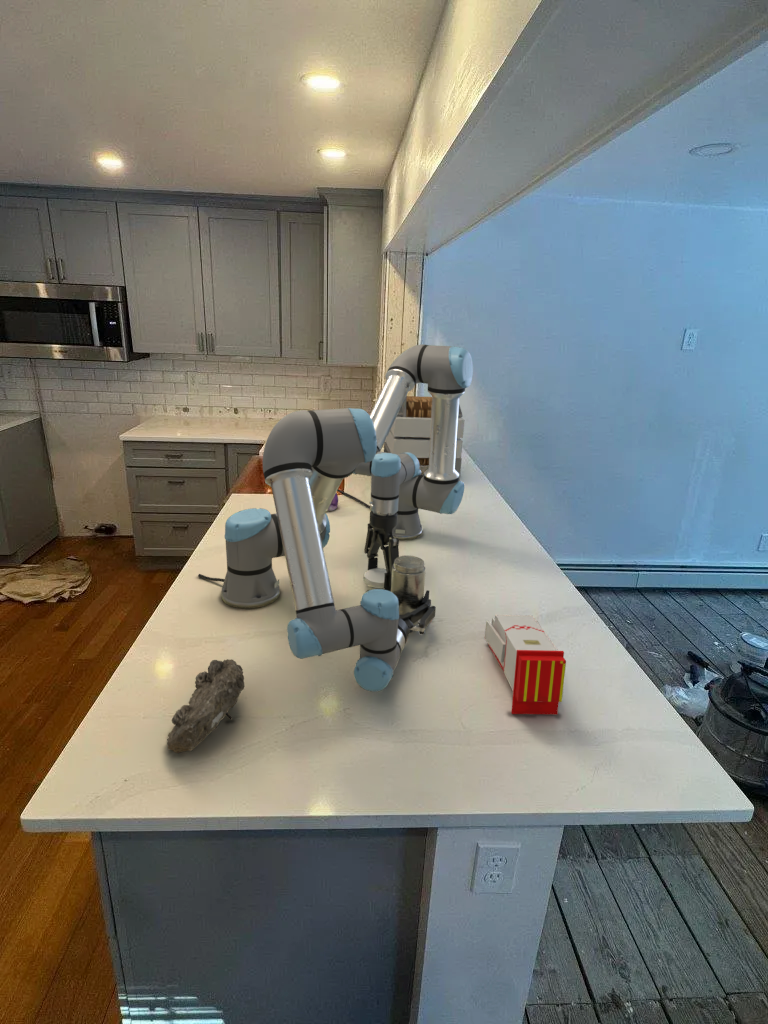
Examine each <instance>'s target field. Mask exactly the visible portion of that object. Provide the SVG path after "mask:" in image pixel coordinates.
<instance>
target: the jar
mask: <svg viewBox="0 0 768 1024" xmlns="http://www.w3.org/2000/svg"><path fill="white" fill-rule="evenodd" d="M425 583H426V563H425V561H424V560H423V559H422V558H421V557H419V556H414V555H399V557H397V558H396V559H395V560H394V564H393V565H392V580H391V592H392V593H393V594H394V595H395V596H396V597H397V598H398V602H399V615H404V614H406V613H408V612H410V613H411V612H412V611H414V610H415V609H417V608H419V607H420V606H422V600H423V598H424V596H425ZM418 621H420V620H418ZM418 621H417V622H415V623H413V625H416V624H417V623H418Z"/></svg>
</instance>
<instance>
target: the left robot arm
mask: <svg viewBox="0 0 768 1024" xmlns="http://www.w3.org/2000/svg"><path fill="white" fill-rule="evenodd" d="M376 449H377V440H376V432H375V427H374V424H373V421H372V419H371V417H370V414H369V413H368V412H367V411H366V409H365V410H364V409H363V408H351V407H345V408H329V409H311V410H306V409H304V410H303V409H302V410H296V411H292V412H290V413H288V414H286V415H285V416H283V417H282V418H281V419H280V420H278V421H277V422H276V423H275V425H274V426H273V428H272V429H271V430H270V433H269V434H268V437H267V439H266V441H265V444H264V448H263V452H262V472H263V477H264V478H263V479H264V482H265V484H266V485H268V486H269V487H271V491H272V497H273V503H274V508H275V513H271V512H270V511H269V510H268V509H266V508H261V507H259V508H256V507H253V508H246V509H242V510H238V511H237V512H234V513H232V514H231V515H230V516H229V517H228V518H227V519H226V521H225V523H224V524H225V525H224V540H225V552H226V553H225V555H226V573H225V576H224V578H219V577H211V576H206V575H204V574H201V573H198V575H197V577H199V578H201V579H204V580H206V581H212V582H222V583H223V584H222V586H221V600H222V601H223V603H224V604H226V605H227V606H230V607H233V608H235V609H236V608H237V609H257V608H262V607H265V606H268V605H270V604H272V603H274V602H275V601H276V600H278V598H279V597H280V585H279V584H280V579H277V577H276V574H275V572H274V569H273V559H274V558H280V557H284V558H285V563H286V569H287V574H288V579H289V584H290V589H291V594H292V595H291V596H292V598H293V605H294V609H295V616H296V617H295V618H294V619H293V618H292V619H290V620H289V622H288V623H287V627H286V632H287V642H288V646H289V648H290V651H291V653H292V655H293V656H294V657H296V658H297V659H300V660H303V659H308V658H313V657H322V656H323V655H326V654H329V653H333V652H337V651H341V650H344V649H348V648H353V647H358V646H359V657H358V659H357V661H356V662H355V665H354V670H353V677H354V680H355V682H356V683H357V685H358V686H359V687H361V688H362V689H364V690H365V691H369V692H373V693H375V692H376V693H377V692H380V691H382V690H384V689H386V688H387V687H388V685H389V683H390V681H391V680H392V679H393V677H394V672H395V671H396V669H397V665H398V663H399V660H400V658H401V655H402V653H403V650H404V648H405V645H406V643H407V641H408V639H409V636H410V634H412V633H413V632H418V634H419V635H425V630H426V628H427V627H428V626H429V625H430V623H431V622H432V621H433V619H435V617H436V611H437V610H436V609H437V606H436V605H432V600H431V599H430V590H425V592H424V597H423V600H422V606H420V607H419V608H417V609H415V610H414V611H412V612H411V613H410V612H408V613H406V614H404V615H399V602H398V598H397V597H396V596H395V595H394V594H393V593H392V592H391V589H390V591H388V590H384V588H374V589H373V588H372V589H370V590H367V591H366V592H364V593H363V594H362V595H361V599H360V602H359V605H355V606H350V607H346V608H345V607H344V608H341V609H336V606H335V600H334V595H333V589H332V585H331V581H330V576H329V575H330V574H329V570H328V566H327V560H326V556H325V552H324V548H325V547H326V546H327V544H328V542H329V540H330V533H331V524H330V520H329V516H328V515H327V512H328V511H327V510H328V508H329V506H330V504H331V502H332V500H333V498H334V496H335V494H336V493H337V492H338V491H337V490H338V489H340V486H341V484H342V482H343V480H344V479H346V478H348V477H350V476H351V475H352V474H353V472H354V471H355V469H356V467H357V465H358V463H361V462H364V463H367V462H370V461H372V460H373V459H374V457H375V455H376ZM418 620H420V621H418ZM417 621H418V623H417V624H416V625H413V623H415V622H417Z"/></svg>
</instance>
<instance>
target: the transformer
mask: <svg viewBox="0 0 768 1024" xmlns="http://www.w3.org/2000/svg"><path fill="white" fill-rule="evenodd" d="M431 410H432V396H415V395H414V396H413V395H412V396H411V395H408V394H407V395H406V397H405V400H404V402H403V404H402V406H401V408H400V410H399V412H398V415H397V417H396V419H395V421H394V423H393V425H392V427H391V430H390V432H389V434H388V436H387V438H386V440H385V442H384V445H383V452H387V453H393V454H400V453H406V452H409V453H412V454H414V455H415V456H416V457H417V459H418V461H419V465H420V467H429V453H430V432H431ZM464 429H465V419H464V418H463V411H462V408H461V405H460V404H459V414H458V429H457V444H456V459H455V470H456V471H457V472H458V473H459V481H461V472H462V461H463V460H462V453H463V442H464V441H463V440H462V439H463V438H464V431H465V430H464Z"/></svg>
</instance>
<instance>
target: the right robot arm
mask: <svg viewBox="0 0 768 1024" xmlns="http://www.w3.org/2000/svg"><path fill="white" fill-rule="evenodd" d="M473 377H474V363H473V359H472V355H471V353H470V352H469V350H468V349H466V348H465V347H458V346H455V345H435V344H434V345H433V344H424V343H423V344H422V343H421V344H416V345H413V346H411V347H409V348H407V349H406V350H404V351H403V352H402V353H400V354H399V355H398V356H397V357H396V358H395V359H394V360H393V361H392V363H391V364H390V365H389V367H388V369H387V371H386V373H385V377H384V378H385V383H384V385H383V387H382V389H381V391H380V393H379V395H378V396H377V399H376V401H375V403H374V405H373V407H372V409H371V412H370V414H369V415H370V417H371V419H372V421H373V424H374V427H375V432H376V440H377V449H376V455H375V457H374V459H373V460H372V461H370V462H367V463H364V462H361V463H358V465H357V467H356V469H355V471H354V472H353V473H352V474H353V475H361V476H366V477H370V501H369V504H368V503H366V502H365V501H363V500H361V499H359V498H357V497H356V496H354V495H352V494H349V493H348V492H345V491H343V490H341V489H340V488H338V490H337V492H338V493H340V494H342V495H344V496H346V497H349V498H350V499H352V500H354V501H356V502H358V503H360V504H361V505H363V506H365V507H366V508H368V509H370V512H369V523H367V532H366V538H365V544H364V550H363V553H364V554H366V557H367V571H368V570H370V569H375V568H378V564H379V563H378V562H379V558H378V556H379V554H378V553H379V550H381V551H382V555H383V560H384V565H385V569H386V571H387V573H384V574H385V579H384V588H383V590H388V591H390V589H391V580H392V565H393V564H394V560H395V559H396V558H397V557H400V551H399V549H400V548H399V545H400V541H410V540H415V539H418V538H420V537H421V536H422V535H423V525H422V524H421V518H420V515H419V510H423V511H428V512H434V513H437V514H440V515H442V514H444V515H453V514H454V513H456V512H457V510H458V509H459V508H460V505H461V502H462V500H463V497H464V493H465V482H464V481H462V480H460V481H459V473H458V472H457V471H456V470H455V459H456V444H457V429H458V414H459V405H460V398H461V397H462V395H464V394H465V393H466V388H469V387H470V386H471V384H472V382H473ZM416 384H425V385H427V392H428V393H429V395H430V396H431V397H432V410H431V432H430V453H429V465H428V468H427V469H426V470H424V472H423V474H422V470H421V468H420V467H421V466H420V465H419V461H418V459H417V457H416V456H415V455H414V454H412V453H409V452H406V453H400V454H393V453H387V452H384V451H382V449H383V448H384V442H386V441H385V440H386V438H387V436H388V434H389V432H390V430H391V427H392V425H393V423H394V421H395V419H396V417H397V415H398V412H399V410H400V408H401V406H402V404H403V402H404V400H405V397H406V395H407V396H408V393H409V392H411V391H412V390H413V389H414V388H415V386H416Z"/></svg>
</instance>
